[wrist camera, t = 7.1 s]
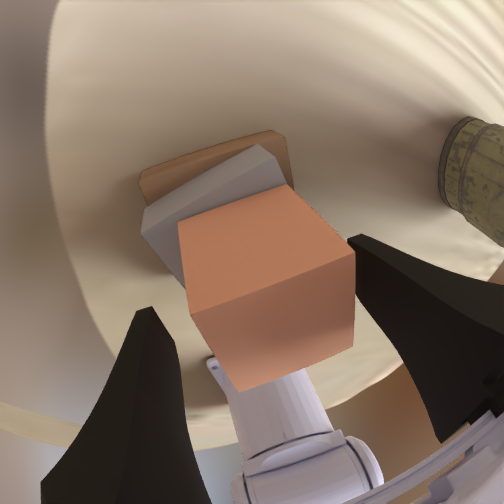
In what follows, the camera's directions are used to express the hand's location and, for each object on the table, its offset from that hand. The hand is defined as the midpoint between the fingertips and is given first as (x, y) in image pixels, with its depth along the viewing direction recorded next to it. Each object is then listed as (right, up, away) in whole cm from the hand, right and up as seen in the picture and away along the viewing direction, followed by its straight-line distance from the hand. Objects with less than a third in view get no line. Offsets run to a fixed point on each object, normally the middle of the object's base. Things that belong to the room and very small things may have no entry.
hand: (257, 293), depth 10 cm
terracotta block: (0, +2, +2) cm, 3 cm away
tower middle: (-1, +3, +5) cm, 6 cm away
